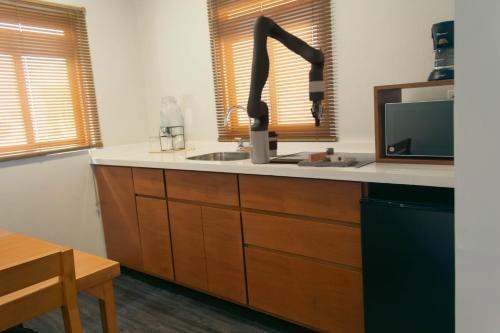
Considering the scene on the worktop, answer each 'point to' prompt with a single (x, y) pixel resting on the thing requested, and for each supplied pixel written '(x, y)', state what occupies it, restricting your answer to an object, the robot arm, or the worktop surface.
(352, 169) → the worktop surface
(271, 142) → the coffee cup
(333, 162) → the stand base
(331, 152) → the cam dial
